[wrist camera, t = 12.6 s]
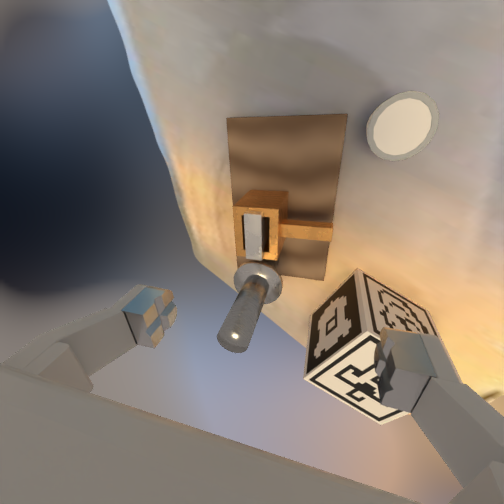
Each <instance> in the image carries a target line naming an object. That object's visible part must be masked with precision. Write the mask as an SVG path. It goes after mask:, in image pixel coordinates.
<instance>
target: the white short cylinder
mask: <svg viewBox="0 0 504 504" xmlns="http://www.w3.org/2000/svg"><path fill="white" fill-rule="evenodd" d="M438 120H439V112H438V109H437V106H436V103H435V101H434V100H433V99H431V98H430V97H429V96H428V95H427V94H426V93H421V92H416V91H408V92H403V93H399V94H396V95H394V96H393V97H391V98H390V99H388V100H386V101H385V102H383V103H382V104H381V105H380V106H379V107H377V108H376V110H375V111H374V112H373V113H372V114H371V116H370V117H369V120H368V122H367V125H366V136H367V141H368V144H369V146H370V148H371V150H372V152H373V153H374V154H376V155H377V156H378V157H379V158H381V159H385V160H389V161H398V160H405V159H408V158H410V157H412V156H414V155H416V154H418V153H419V152H420V151H421V150H422V149H423V148H424V147H425V146H426V145H428V144H429V143H430V141H431V139H432V138H433V136H434V134H435V132H436V130H437V128H438Z"/></svg>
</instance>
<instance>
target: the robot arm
mask: <svg viewBox="0 0 504 504" xmlns="http://www.w3.org/2000/svg"><path fill="white" fill-rule="evenodd" d="M173 298H174V297H173V293H172V291H170V290H167V289H162V288H157V287H152V286H146V285H136V286H135V287H134V288H132V289H131V290H130V291H129V292H128V293H127V294H126V295H124V296H123V297H122V298H121V299H120V300H119V301H117V302H116V303H115V304H114V305H113V306H112V307H111V308H105V309H103V310H100V311H98V312H95V313H93V314H90V315H88V316H85V317H83V318H80V319H78V320H75V321H73V322H71V323H68V324H65V325H63V326H61V327H58V328H55V329H53V330H51V331H48V332H46V333H43V334H41V335H39V336H37V337H36V338H35V339H34V340H32V341H31V342H29V343H28V344H27V345H25V346H24V347H23V348H22V349H20V350H19V351H18V352H16V353H15V354H14V355H13V356H11V357H10V358H8V359H7V360H6V361H4V362H3V363H0V504H422V503H419V502H416V501H413V500H410V499H407V498H404V497H401V496H398V495H395V494H392V493H389V492H386V491H383V490H380V489H377V488H374V487H371V486H368V485H365V484H362V483H359V482H356V481H353V480H350V479H347V478H344V477H341V476H338V475H335V474H332V473H329V472H326V471H323V470H320V469H317V468H314V467H311V466H308V465H305V464H302V463H299V462H296V461H293V460H290V459H287V458H284V457H281V456H278V455H275V454H272V453H269V452H266V451H263V450H260V449H257V448H254V447H251V446H248V445H245V444H242V443H239V442H236V441H233V440H230V439H227V438H224V437H221V436H218V435H215V434H212V433H209V432H206V431H203V430H200V429H197V428H194V427H191V426H188V425H185V424H182V423H179V422H176V421H173V420H170V419H167V418H164V417H161V416H158V415H155V414H152V413H149V412H146V411H143V410H140V409H137V408H134V407H131V406H128V405H125V404H122V403H119V402H116V401H113V400H110V399H107V398H104V397H101V396H98V395H95V394H92V393H90V392H91V391H92V389H93V384H92V382H91V380H90V379H89V376H90V375H92V374H94V373H95V372H96V371H98V370H100V369H101V368H103V367H104V366H106V365H107V364H109V363H111V362H112V361H114V360H115V359H117V358H118V357H120V356H121V355H123V354H124V353H126V352H127V351H129V350H130V349H132V348H134V347H135V346H136V344H137V345H141V346H146V347H151V348H155V347H156V346H157V345H158V343H159V342H160V341H161V339H162V338H163V336H164V331H165V330H166V329H168V328H170V327H171V326H172V324H173V323H174V321H175V319H176V316H177V308H176V305H175V304H174V303H173V302H172V300H173ZM380 340H381V342H379V343H377V344H376V348H375V352H374V368H375V372H376V374H377V375H378V376H379V377H380V378H379V381H378V384H377V386H378V392H379V398H380V404H381V405H383V406H387V407H390V408H394V409H398V410H401V411H405V412H408V413H411V415H412V417H413V418H414V420H415V421H416V422H417V424H418V425H419V427H420V428H421V429H422V431H423V432H424V434H425V435H426V436H427V438H428V439H429V441H430V442H431V443H432V445H433V446H434V448H435V449H436V450H437V452H438V453H439V454H440V456H441V457H442V459H443V460H444V462H445V463H446V464H447V466H448V467H449V469H450V470H451V471H452V473H453V474H454V476H455V477H456V478H457V480H458V481H459V483H460V484H461V485H462V487H463V489H462V490H461V491H460V492H459V493H458V494H457V495H456V496H455V497H454V498H453V499H452V500H451V501H450V502H449V503H448V504H504V417H503V416H502V415H501V414H500V413H498V412H497V411H496V410H495V409H494V408H493V407H492V406H491V405H489V404H488V403H487V402H486V401H485V400H484V399H483V398H481V397H480V396H479V395H478V394H477V393H476V392H475V391H473V390H472V389H471V388H470V387H469V386H468V385H467V384H463V383H460V381H459V379H458V377H457V375H456V373H455V371H454V369H453V367H452V365H451V363H450V361H449V359H448V356H447V354H446V352H445V350H444V348H443V346H442V344H441V342H440V340H439V338H438V337H437V336H436V335H430V334H424V333H416V332H411V331H405V330H399V329H393V328H387V327H383V328H382V329H381V332H380Z"/></svg>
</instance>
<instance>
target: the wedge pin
mask: <svg viewBox="0 0 504 504" xmlns="http://www.w3.org/2000/svg"><path fill="white" fill-rule="evenodd" d="M269 227H270V217H263V212H260V211H246V212H245V213H244V230H245V248H246V259H253V260H261V261H262V259H263V257H264V246H265V244H266V242H267V240H268V238H269Z"/></svg>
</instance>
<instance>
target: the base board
mask: <svg viewBox="0 0 504 504" xmlns="http://www.w3.org/2000/svg"><path fill="white" fill-rule="evenodd" d="M347 116H348V114H329V115H300V116H271V117H242V118H226V119H227V132H228V145H229V159H230V172H231V186H232V199H233V206H234V205H235V204H236V203H237V202H238V201H239V200H240V199H241V198H242V197H243V196H244V195H245V194H246V193H247V192H248V191H249V190H267V191H288V214H287V219H288V220H301V221H314V222H327V223H332V220H333V213H334V206H335V199H336V192H337V185H338V178H339V171H340V164H341V157H342V150H343V143H344V136H345V130H346V123H347ZM328 248H329V241H319V240H309V239H298V238H288V237H286V239H285V241H284V244H283V247H282V249H281V252H280V255H279V262H278V265H277V268H276V270H277V271H278V272H279V274H280V275H285V276H292V277H299V278H307V279H314V280H321V281H324V276H325V269H326V262H327V255H328ZM252 260H253V259H246V257H244V256H237V266H238V268H239V267H240V266H241V265H242V264H243V263H245V262H247V261H252Z"/></svg>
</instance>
